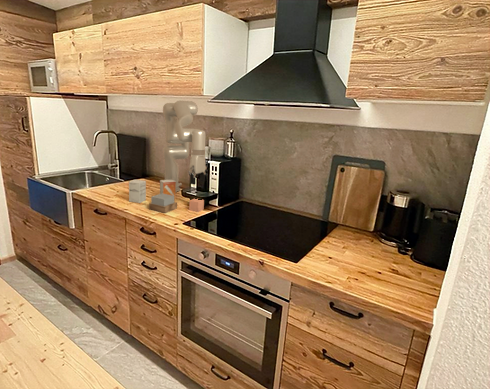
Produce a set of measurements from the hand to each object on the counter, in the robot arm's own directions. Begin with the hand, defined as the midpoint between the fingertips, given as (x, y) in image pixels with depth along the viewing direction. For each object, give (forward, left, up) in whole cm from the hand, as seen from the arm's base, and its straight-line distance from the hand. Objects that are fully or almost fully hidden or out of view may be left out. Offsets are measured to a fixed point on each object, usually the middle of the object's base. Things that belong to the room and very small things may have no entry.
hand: (197, 182), depth 170 cm
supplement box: (+7, -38, -17) cm, 42 cm away
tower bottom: (+10, -16, -17) cm, 25 cm away
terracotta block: (0, 0, -17) cm, 17 cm away
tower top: (+10, -17, -13) cm, 23 cm away
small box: (-4, -24, -17) cm, 30 cm away
